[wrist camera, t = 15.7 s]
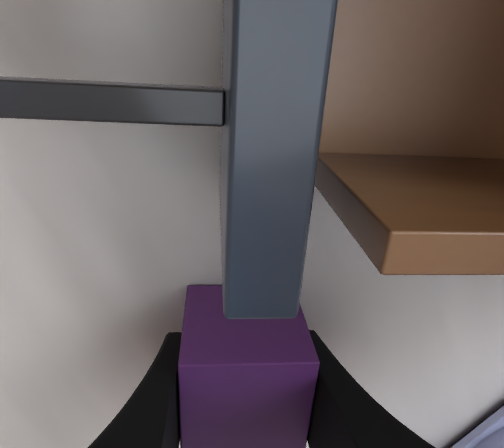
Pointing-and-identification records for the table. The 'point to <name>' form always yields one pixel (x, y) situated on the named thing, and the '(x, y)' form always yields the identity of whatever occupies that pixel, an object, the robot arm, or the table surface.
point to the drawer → (333, 135)
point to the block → (243, 377)
